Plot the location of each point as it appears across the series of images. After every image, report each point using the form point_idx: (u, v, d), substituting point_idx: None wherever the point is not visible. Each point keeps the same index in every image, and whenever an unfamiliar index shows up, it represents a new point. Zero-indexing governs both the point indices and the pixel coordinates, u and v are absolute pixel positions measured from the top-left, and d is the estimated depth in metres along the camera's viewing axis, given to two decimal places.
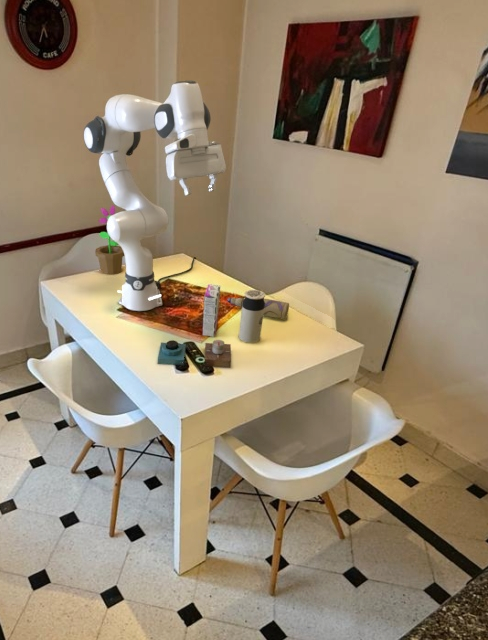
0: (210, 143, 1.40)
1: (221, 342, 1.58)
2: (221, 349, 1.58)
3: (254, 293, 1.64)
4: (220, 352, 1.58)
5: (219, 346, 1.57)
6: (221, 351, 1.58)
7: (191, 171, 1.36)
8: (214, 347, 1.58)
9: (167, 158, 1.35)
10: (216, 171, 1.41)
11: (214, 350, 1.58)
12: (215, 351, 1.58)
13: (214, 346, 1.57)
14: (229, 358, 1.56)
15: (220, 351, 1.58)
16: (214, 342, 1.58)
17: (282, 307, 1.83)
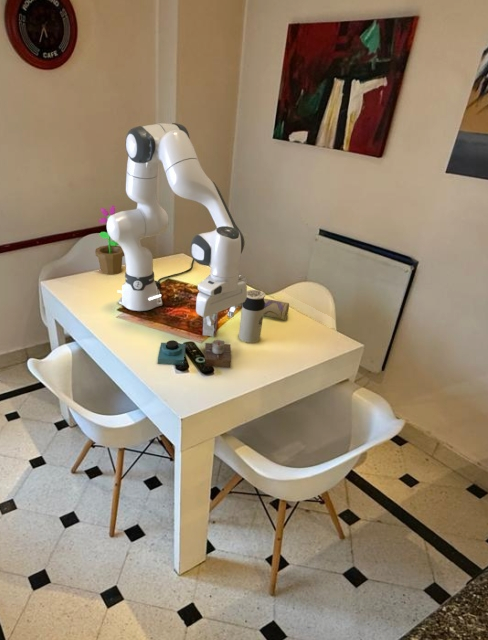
0: (238, 279, 1.48)
1: (221, 342, 1.58)
2: (221, 349, 1.58)
3: (254, 293, 1.64)
4: (220, 352, 1.58)
5: (219, 346, 1.57)
6: (221, 351, 1.58)
7: (218, 309, 1.46)
8: (214, 347, 1.58)
9: (199, 297, 1.43)
10: (238, 303, 1.52)
11: (214, 350, 1.58)
12: (215, 351, 1.58)
13: (214, 346, 1.57)
14: (229, 358, 1.56)
15: (220, 351, 1.58)
16: (214, 342, 1.58)
17: (282, 307, 1.83)
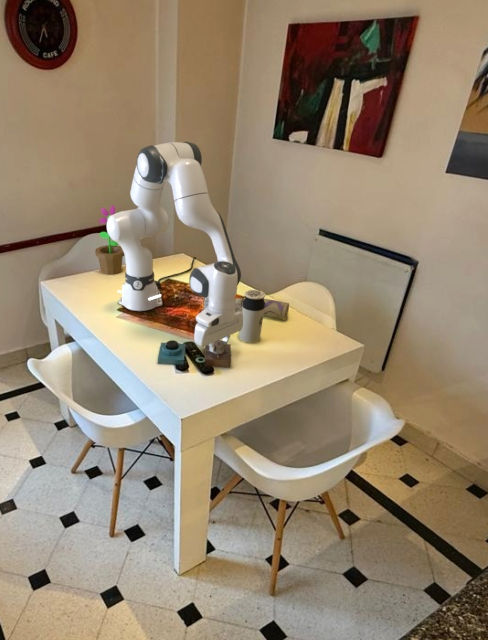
0: (234, 309, 1.54)
1: (221, 342, 1.58)
2: (221, 349, 1.58)
3: (254, 293, 1.64)
4: (220, 352, 1.58)
5: (219, 346, 1.57)
6: (221, 351, 1.58)
7: (215, 338, 1.53)
8: None
9: (197, 327, 1.49)
10: (234, 332, 1.58)
11: None
12: (215, 351, 1.58)
13: None
14: (229, 358, 1.56)
15: (220, 351, 1.58)
16: None
17: (282, 307, 1.83)
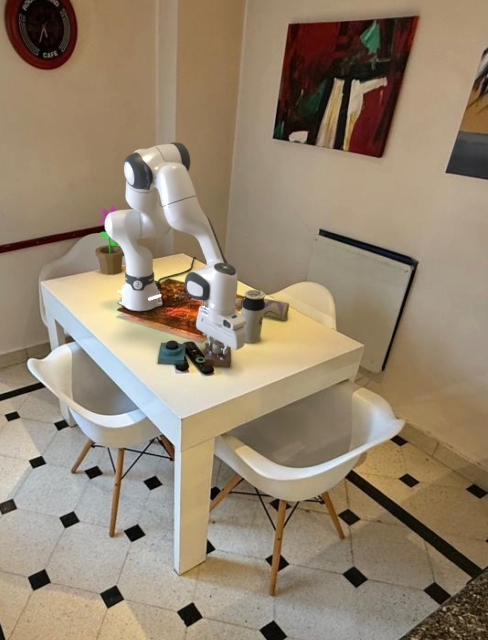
0: None
1: (218, 341, 1.59)
2: None
3: (254, 293, 1.64)
4: None
5: None
6: None
7: None
8: (222, 347, 1.58)
9: (238, 333, 1.47)
10: None
11: None
12: None
13: (222, 346, 1.57)
14: (229, 358, 1.56)
15: None
16: (219, 344, 1.57)
17: (282, 307, 1.83)
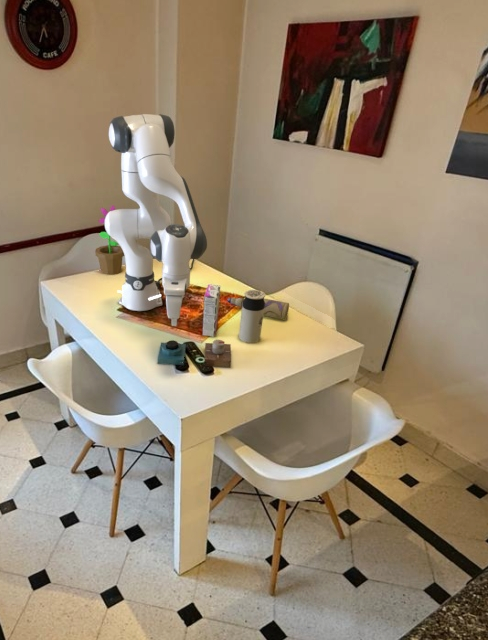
0: None
1: (218, 341, 1.59)
2: None
3: (254, 293, 1.64)
4: None
5: None
6: None
7: None
8: (222, 347, 1.58)
9: (169, 301, 1.41)
10: None
11: (222, 350, 1.58)
12: (223, 350, 1.59)
13: (222, 346, 1.57)
14: (229, 358, 1.56)
15: None
16: (219, 344, 1.57)
17: (282, 307, 1.83)
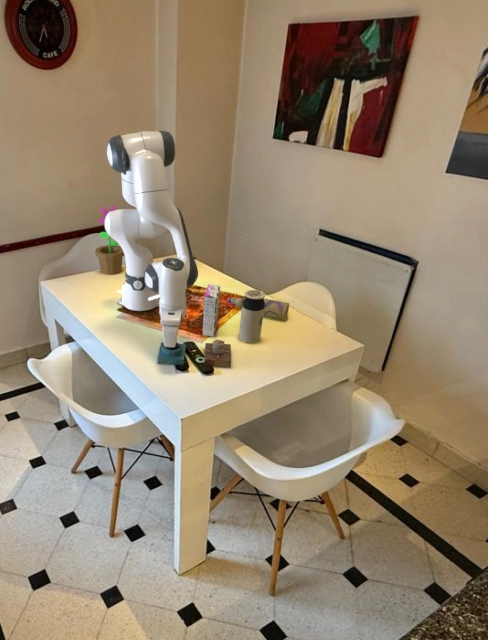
0: None
1: (218, 341, 1.59)
2: None
3: (254, 293, 1.64)
4: None
5: None
6: None
7: None
8: (222, 347, 1.58)
9: (166, 330, 1.46)
10: None
11: (222, 350, 1.58)
12: (223, 350, 1.59)
13: (222, 346, 1.57)
14: (229, 358, 1.56)
15: None
16: (219, 344, 1.57)
17: (282, 307, 1.83)
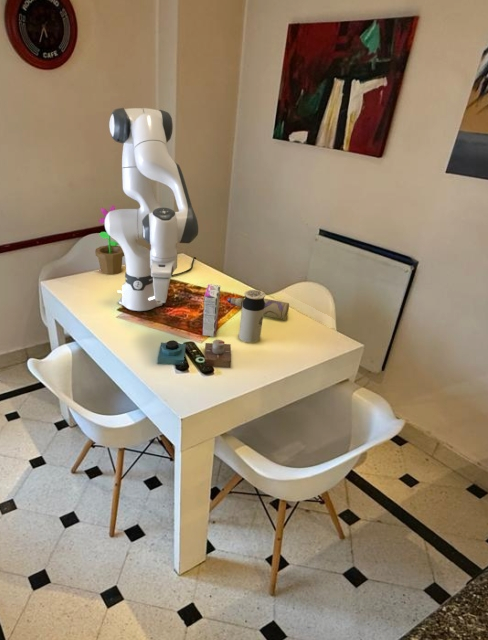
0: None
1: (218, 341, 1.59)
2: None
3: (254, 293, 1.64)
4: None
5: None
6: None
7: None
8: (222, 347, 1.58)
9: (156, 283, 1.43)
10: None
11: (222, 350, 1.58)
12: (223, 350, 1.59)
13: (222, 346, 1.57)
14: (229, 358, 1.56)
15: None
16: (219, 344, 1.57)
17: (282, 307, 1.83)
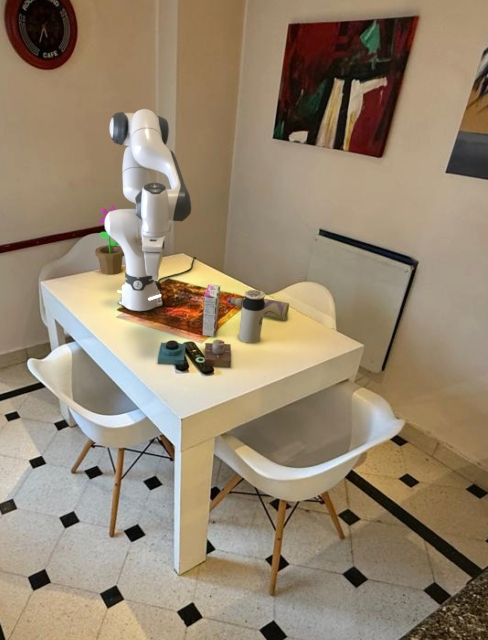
0: None
1: (218, 341, 1.59)
2: None
3: (254, 293, 1.64)
4: None
5: None
6: None
7: (159, 265, 1.51)
8: (222, 347, 1.58)
9: (147, 257, 1.44)
10: None
11: (222, 350, 1.58)
12: (223, 350, 1.59)
13: (222, 346, 1.57)
14: (229, 358, 1.56)
15: None
16: (219, 344, 1.57)
17: (282, 307, 1.83)
